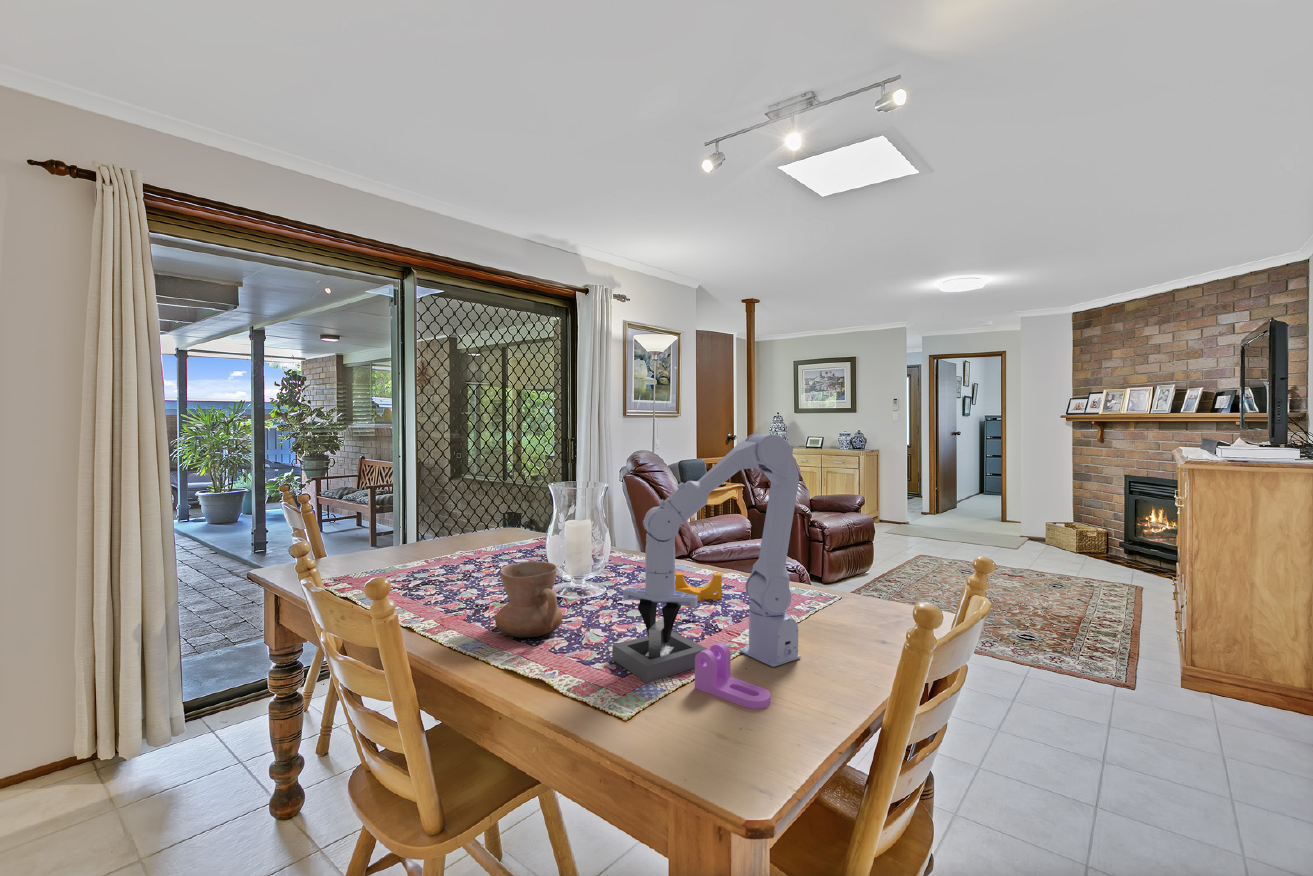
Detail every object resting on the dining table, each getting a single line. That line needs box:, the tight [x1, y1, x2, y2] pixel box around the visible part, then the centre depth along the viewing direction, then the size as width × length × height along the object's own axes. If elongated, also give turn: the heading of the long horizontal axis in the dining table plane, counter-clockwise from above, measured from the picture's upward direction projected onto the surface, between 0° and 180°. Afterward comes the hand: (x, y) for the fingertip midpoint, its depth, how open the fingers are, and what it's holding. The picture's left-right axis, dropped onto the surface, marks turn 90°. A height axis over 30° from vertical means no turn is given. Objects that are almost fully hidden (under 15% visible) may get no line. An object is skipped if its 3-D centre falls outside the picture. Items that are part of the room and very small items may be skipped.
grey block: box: [645, 618, 674, 660], centre depth 114 cm, size 4×6×6 cm, turn 161°
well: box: [611, 630, 709, 683], centre depth 114 cm, size 12×14×3 cm
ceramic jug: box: [494, 560, 564, 638], centre depth 130 cm, size 18×14×14 cm
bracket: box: [694, 642, 772, 710], centre depth 101 cm, size 13×6×7 cm, turn 49°
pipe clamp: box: [675, 571, 723, 602], centre depth 155 cm, size 12×4×6 cm, turn 89°
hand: (659, 639), depth 114 cm, fingers closed on grey block, 2 cm apart
